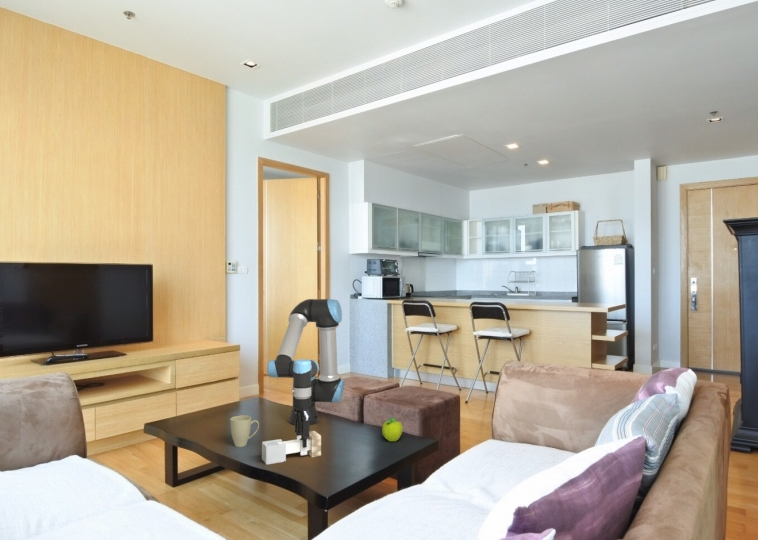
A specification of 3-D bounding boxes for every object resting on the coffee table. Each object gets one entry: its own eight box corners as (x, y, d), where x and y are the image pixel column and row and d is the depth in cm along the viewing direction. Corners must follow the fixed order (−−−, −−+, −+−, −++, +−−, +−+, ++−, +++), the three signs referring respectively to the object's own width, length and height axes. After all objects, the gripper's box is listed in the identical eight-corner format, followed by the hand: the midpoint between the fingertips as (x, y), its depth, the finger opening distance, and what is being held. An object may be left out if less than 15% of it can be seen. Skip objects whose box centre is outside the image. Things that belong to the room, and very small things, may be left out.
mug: (241, 450, 210) (241, 422, 211) (225, 446, 216) (226, 418, 216) (260, 443, 220) (260, 416, 220) (244, 439, 225) (244, 413, 225)
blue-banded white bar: (311, 446, 209) (311, 436, 209) (314, 449, 205) (314, 439, 205) (277, 452, 202) (277, 442, 202) (279, 455, 198) (280, 445, 198)
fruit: (379, 442, 221) (379, 420, 221) (386, 436, 229) (386, 415, 230) (398, 445, 218) (398, 422, 218) (404, 438, 226) (404, 417, 227)
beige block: (314, 449, 211) (314, 430, 211) (321, 455, 204) (321, 435, 204) (305, 451, 209) (305, 432, 210) (311, 457, 202) (312, 437, 202)
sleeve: (280, 455, 204) (281, 438, 204) (285, 461, 198) (285, 443, 198) (261, 459, 200) (261, 441, 200) (266, 464, 194) (266, 446, 194)
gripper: (287, 393, 211) (287, 448, 210) (300, 402, 196) (299, 461, 195) (303, 391, 214) (303, 445, 214) (317, 400, 199) (317, 458, 198)
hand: (301, 452), depth 204 cm, fingers closed on blue-banded white bar, 4 cm apart
